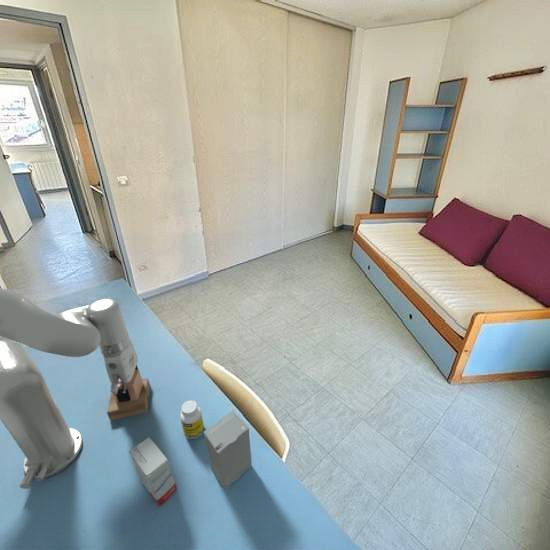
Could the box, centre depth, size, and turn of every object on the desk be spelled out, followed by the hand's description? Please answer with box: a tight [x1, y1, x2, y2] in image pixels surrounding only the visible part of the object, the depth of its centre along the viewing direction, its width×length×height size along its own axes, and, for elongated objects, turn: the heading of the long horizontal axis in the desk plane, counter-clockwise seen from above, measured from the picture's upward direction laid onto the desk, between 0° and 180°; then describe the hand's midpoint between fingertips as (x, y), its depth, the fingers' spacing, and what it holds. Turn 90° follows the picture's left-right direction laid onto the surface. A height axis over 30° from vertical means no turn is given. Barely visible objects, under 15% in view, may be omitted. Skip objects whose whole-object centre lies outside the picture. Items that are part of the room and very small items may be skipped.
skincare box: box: [203, 410, 252, 490], centre depth 70 cm, size 8×7×16 cm
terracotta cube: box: [114, 368, 143, 402], centre depth 89 cm, size 6×6×6 cm
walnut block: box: [106, 377, 151, 421], centre depth 91 cm, size 10×10×4 cm
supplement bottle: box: [179, 400, 205, 440], centre depth 81 cm, size 5×5×10 cm
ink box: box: [129, 436, 178, 507], centre depth 68 cm, size 9×5×12 cm, turn 48°
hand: (129, 387), depth 90 cm, fingers open, 9 cm apart
